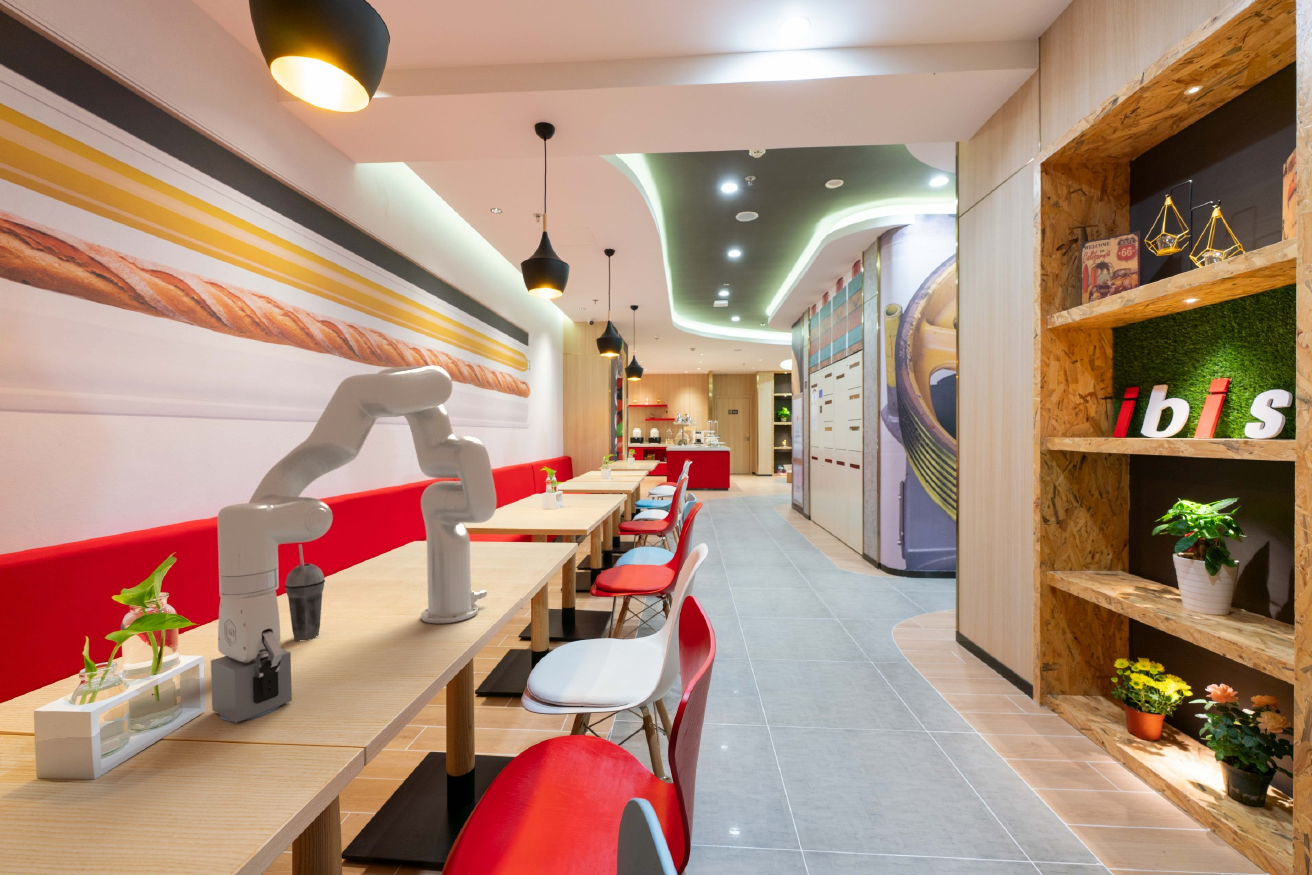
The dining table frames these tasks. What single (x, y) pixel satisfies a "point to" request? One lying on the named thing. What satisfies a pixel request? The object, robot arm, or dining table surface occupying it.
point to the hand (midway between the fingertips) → (252, 692)
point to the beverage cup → (305, 599)
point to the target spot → (254, 715)
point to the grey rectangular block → (245, 687)
